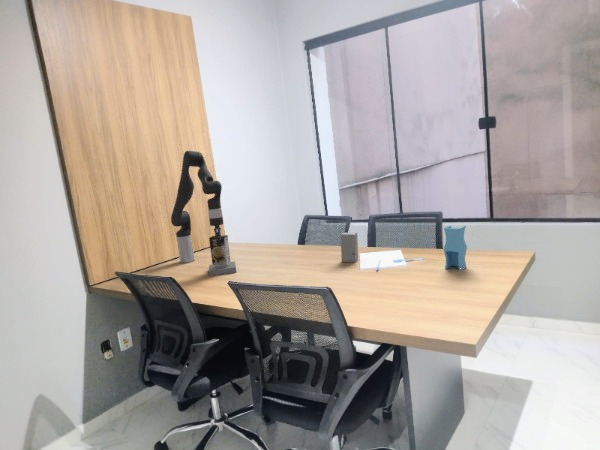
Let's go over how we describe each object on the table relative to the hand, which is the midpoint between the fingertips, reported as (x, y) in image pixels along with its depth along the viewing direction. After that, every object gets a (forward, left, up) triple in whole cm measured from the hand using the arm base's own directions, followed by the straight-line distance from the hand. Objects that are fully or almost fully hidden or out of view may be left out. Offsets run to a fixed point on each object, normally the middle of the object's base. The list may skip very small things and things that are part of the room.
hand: (219, 244), depth 236 cm
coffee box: (0, 0, -11) cm, 11 cm away
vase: (+59, +111, -16) cm, 127 cm away
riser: (0, 0, -15) cm, 15 cm away
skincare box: (+18, +71, -16) cm, 75 cm away
